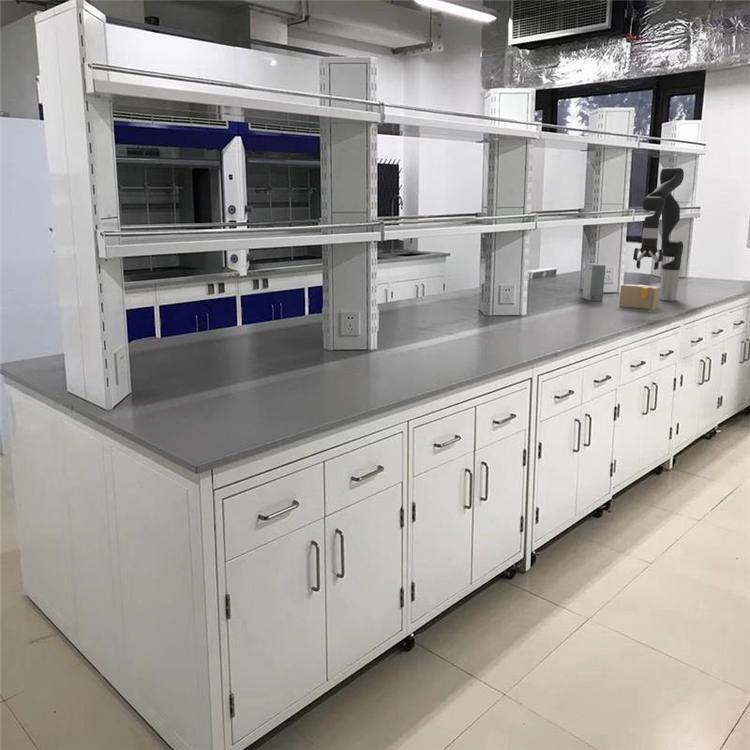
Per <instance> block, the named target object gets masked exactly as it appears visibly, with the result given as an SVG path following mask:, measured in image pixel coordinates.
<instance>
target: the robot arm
mask: <svg viewBox="0 0 750 750" xmlns="http://www.w3.org/2000/svg"><path fill="white" fill-rule="evenodd" d="M684 173H685V172H684V169H683V168H682V167H663V168H662V169H661V170H660V174H659V175H660V176H659V182H660V183H659V185H658V186H657V187H656V188H655V189H654V190H653V192H651V193H649V194H647V195H646V196H645V197H644V198H643V200H642V203H641V207H642V209H643V211H647V212H654V214H653V215H647V216H645V217H644V222H643V230H642V235H641V237H642V238H641V245H640V246H641V247H640V248H638V247H635V248H634V250H633V257H632V258H633V260H634V261H636V268H637V269H640V268H641V260H642V259H644V258H652V259H653V260H654V266H653V270H654V271H657V269H659V263H661V262H663V260H664V257H666V258H673V260H672V261H669V262H666V263H663V264H662V268H661V277H660V286H659V287H661V290H660V300H661V301H669V302H670V301H673V302H674V301H677V299H678V298H677V297H678V289H679V279H680V271H681V265H682V256H683V251H684V242H683V241H682V240H673V239H671V240H670V235H671V233H672V231H673V230H674V229H675V227H676V226H677V225H678V223H679V222H680V218H681V207H680V205H679V203H678V201H677V200H676V199H675V197H674V196H673V194H672V192H673V191H674V190H675V189H676V188H678V187H680V185H682V183H683V181H684V177H685V174H684ZM660 219H661V230H662V231H661V247H660V249H658V241H659V226H660ZM639 252H640V253H641V254H640V255H639ZM657 253H658V256H657ZM638 255H639V256H638ZM660 300H659V301H660Z"/></svg>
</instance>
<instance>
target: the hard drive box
mask: <svg viewBox="0 0 750 750" xmlns="http://www.w3.org/2000/svg"><path fill="white" fill-rule="evenodd" d="M584 264H585V265H584V277H583V287H582V288H583V289H582V298H583V299H585V300H587V301H596V302H598V301H599V302H600V301H601V302H602V301H603V297H604V286H605V277H606V276H605V275H606V267H607V266H606V265H605V264H602V263H597V262H585V263H584Z"/></svg>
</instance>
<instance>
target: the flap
mask: <svg viewBox="0 0 750 750" xmlns="http://www.w3.org/2000/svg"><path fill="white" fill-rule="evenodd" d="M620 291H621V297H620V296H619V302H620V306H619V307H623V306H628V307H627V308H633V307H638V308H637V309H642V308H647V309H646V310H652V309H651V300H652V291H653V288H652V287H641V286H629V285H625V284H621V285H620Z"/></svg>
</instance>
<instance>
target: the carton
mask: <svg viewBox="0 0 750 750" xmlns="http://www.w3.org/2000/svg"><path fill="white" fill-rule="evenodd" d="M624 285H629V286H641V287H652V288H653V291H652V300H651V309H650V310H653V311H654V310H656V309H659V307H660V290H661V287H660V286H655V285H646V284H631V283H626V284H625V283H624ZM620 297H621V290H620V292H619V298H620ZM618 306H619V307H621V306H620V301H619V304H618ZM623 307H624V308H625V307H626V308H629V307H628V306H622V308H623ZM632 308H635V309H639V308H638V307H632ZM641 309H644V310H648V309H647V308H641Z"/></svg>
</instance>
